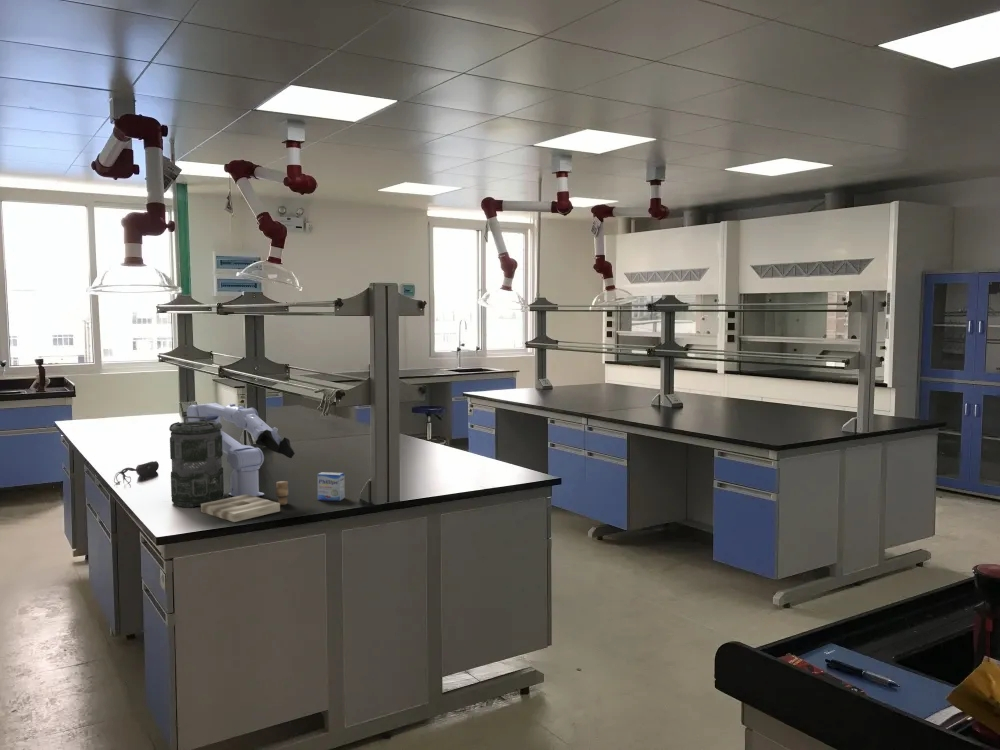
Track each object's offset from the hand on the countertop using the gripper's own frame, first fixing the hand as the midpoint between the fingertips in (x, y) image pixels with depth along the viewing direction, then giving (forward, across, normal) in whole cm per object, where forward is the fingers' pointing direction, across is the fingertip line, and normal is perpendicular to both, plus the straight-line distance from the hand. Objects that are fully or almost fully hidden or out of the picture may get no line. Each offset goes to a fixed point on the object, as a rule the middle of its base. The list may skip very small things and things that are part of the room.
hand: (284, 452), depth 246 cm
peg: (+5, +8, +14) cm, 17 cm away
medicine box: (+11, +19, +6) cm, 23 cm away
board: (+3, -4, +22) cm, 22 cm away
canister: (-16, -1, +30) cm, 35 cm away
